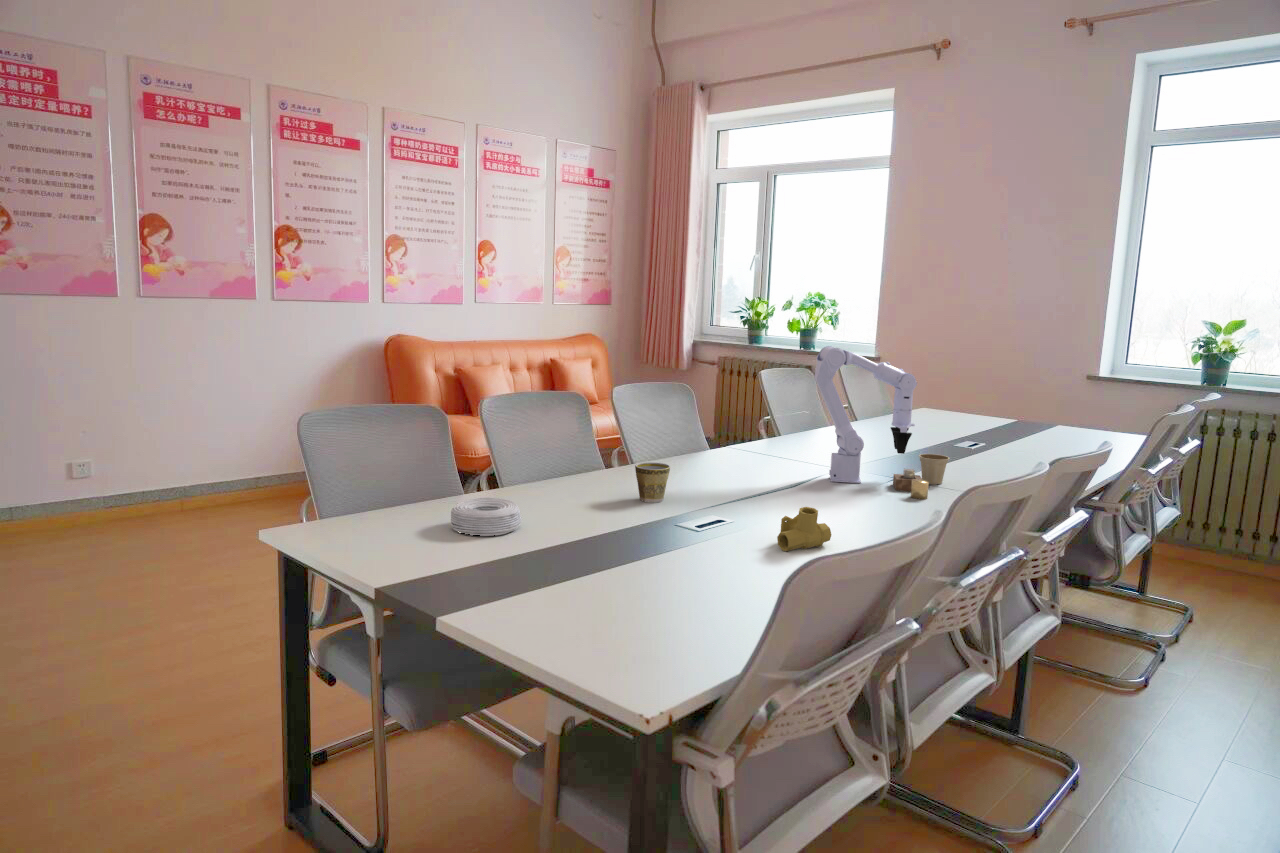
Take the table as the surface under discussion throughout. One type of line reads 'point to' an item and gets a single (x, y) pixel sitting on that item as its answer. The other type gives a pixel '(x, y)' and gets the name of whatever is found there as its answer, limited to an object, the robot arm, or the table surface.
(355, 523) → the table surface
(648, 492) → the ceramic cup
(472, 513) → the cable
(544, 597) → the table surface
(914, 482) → the round bit
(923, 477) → the flower pot
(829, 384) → the robot arm
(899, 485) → the block
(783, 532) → the tan pipe tee fitting
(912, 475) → the square bit
